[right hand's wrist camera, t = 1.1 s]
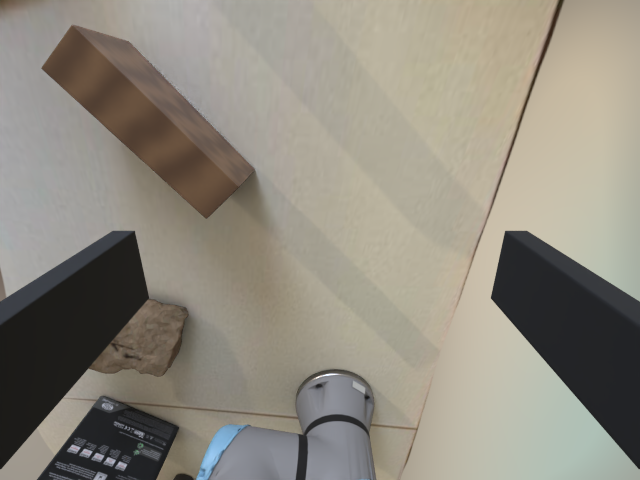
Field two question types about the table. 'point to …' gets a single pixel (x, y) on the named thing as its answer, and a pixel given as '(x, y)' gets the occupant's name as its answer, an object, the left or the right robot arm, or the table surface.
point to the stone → (145, 341)
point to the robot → (182, 477)
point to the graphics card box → (113, 446)
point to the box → (148, 116)
